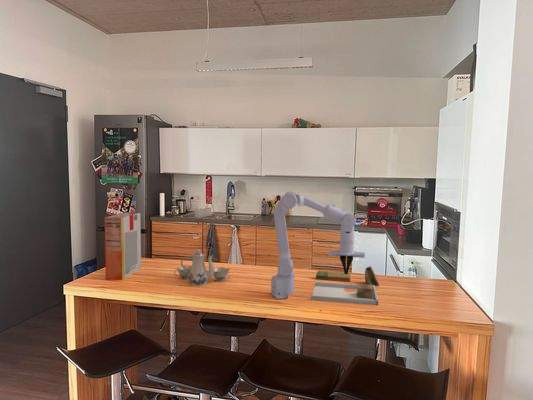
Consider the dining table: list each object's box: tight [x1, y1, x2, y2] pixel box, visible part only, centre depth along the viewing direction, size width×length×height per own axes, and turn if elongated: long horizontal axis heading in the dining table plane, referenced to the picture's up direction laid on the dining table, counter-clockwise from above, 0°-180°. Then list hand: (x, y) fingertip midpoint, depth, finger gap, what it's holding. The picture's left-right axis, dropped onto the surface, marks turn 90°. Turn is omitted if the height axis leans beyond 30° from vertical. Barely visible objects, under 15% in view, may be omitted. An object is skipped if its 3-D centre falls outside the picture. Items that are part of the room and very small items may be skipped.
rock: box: [364, 265, 380, 287], centre depth 177 cm, size 11×9×10 cm
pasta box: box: [104, 211, 142, 281], centre depth 192 cm, size 23×8×30 cm, turn 176°
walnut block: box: [356, 283, 373, 299], centre depth 157 cm, size 6×6×4 cm
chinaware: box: [174, 248, 230, 287], centre depth 181 cm, size 28×17×17 cm, turn 86°
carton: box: [315, 270, 351, 283], centre depth 183 cm, size 8×16×4 cm, turn 76°
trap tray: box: [310, 281, 379, 306], centre depth 159 cm, size 26×20×4 cm
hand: (346, 273), depth 159 cm, fingers closed
